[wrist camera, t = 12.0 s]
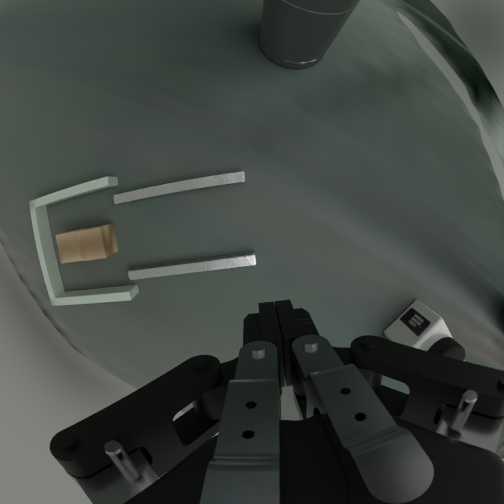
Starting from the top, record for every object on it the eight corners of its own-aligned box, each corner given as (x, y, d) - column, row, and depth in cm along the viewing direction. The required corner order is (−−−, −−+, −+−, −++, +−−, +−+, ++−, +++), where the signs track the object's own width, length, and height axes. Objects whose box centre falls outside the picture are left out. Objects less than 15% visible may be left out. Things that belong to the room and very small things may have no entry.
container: (382, 331, 40) (421, 377, 27) (416, 298, 39) (464, 333, 26) (401, 355, 41) (437, 399, 28) (432, 325, 40) (475, 361, 27)
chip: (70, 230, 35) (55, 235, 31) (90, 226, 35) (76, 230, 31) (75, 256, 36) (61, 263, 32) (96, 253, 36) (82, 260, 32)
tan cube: (90, 227, 35) (76, 231, 31) (113, 222, 35) (100, 227, 31) (96, 254, 36) (82, 261, 32) (118, 250, 36) (106, 257, 32)
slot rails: (119, 194, 34) (113, 195, 32) (244, 172, 34) (244, 171, 32) (134, 275, 37) (129, 280, 35) (255, 260, 37) (256, 264, 35)
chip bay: (40, 200, 34) (29, 201, 31) (117, 176, 34) (107, 176, 31) (62, 298, 37) (52, 305, 34) (138, 292, 37) (131, 300, 34)
